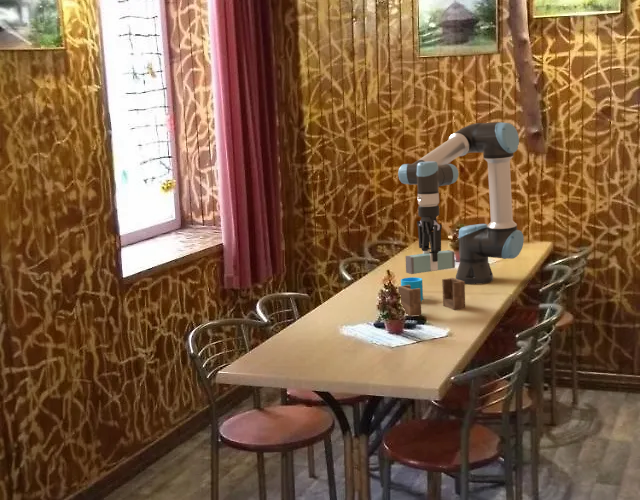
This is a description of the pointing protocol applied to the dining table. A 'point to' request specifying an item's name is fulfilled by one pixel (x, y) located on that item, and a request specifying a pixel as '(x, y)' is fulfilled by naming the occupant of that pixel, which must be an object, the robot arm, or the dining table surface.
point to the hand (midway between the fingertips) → (430, 269)
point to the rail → (422, 262)
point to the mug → (413, 284)
